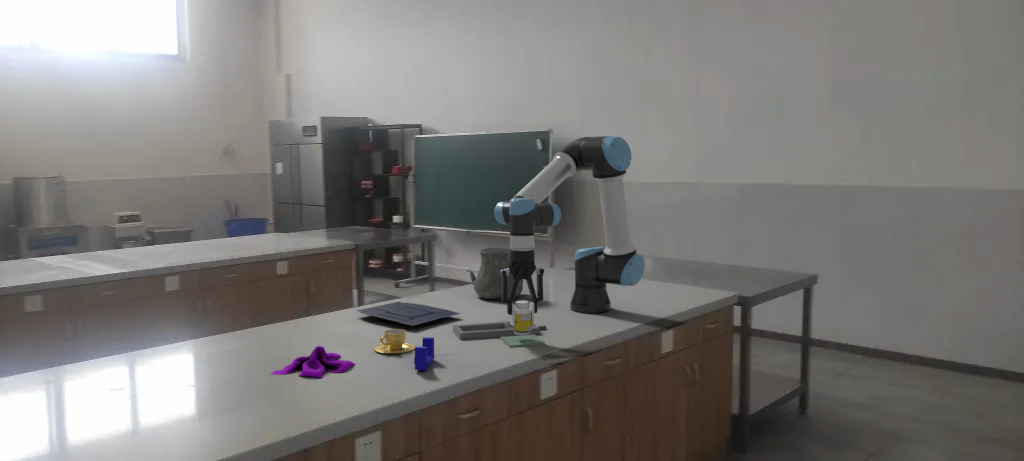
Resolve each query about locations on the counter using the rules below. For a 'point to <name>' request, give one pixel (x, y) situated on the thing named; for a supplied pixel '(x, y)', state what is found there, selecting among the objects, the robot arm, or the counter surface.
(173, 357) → the counter surface
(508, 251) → the vessel
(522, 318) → the supplement bottle
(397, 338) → the cup
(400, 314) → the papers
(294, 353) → the counter surface
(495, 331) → the rectangular frame
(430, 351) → the cable clip
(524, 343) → the rubber mat
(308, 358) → the cloth
